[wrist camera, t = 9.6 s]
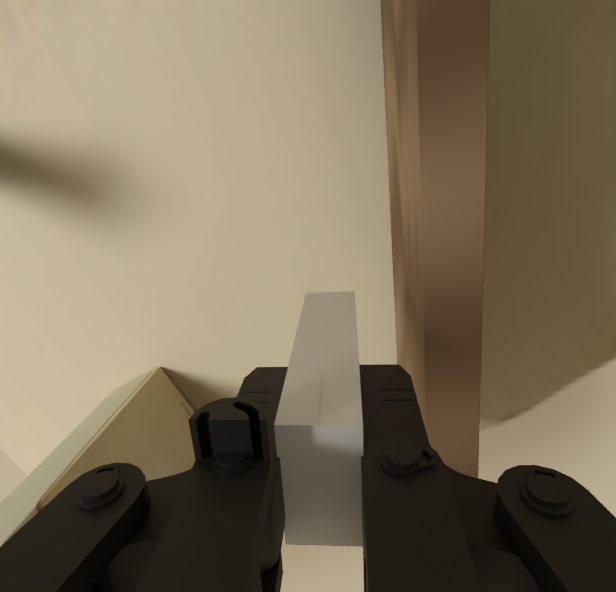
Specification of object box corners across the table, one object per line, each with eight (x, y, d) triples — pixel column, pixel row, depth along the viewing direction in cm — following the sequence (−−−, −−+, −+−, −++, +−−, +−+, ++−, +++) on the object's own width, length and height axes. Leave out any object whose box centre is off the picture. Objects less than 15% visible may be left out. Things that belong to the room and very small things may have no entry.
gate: (362, -81, 17) (399, -635, 5) (425, -93, 17) (630, -712, 5) (389, 406, 24) (431, 672, 12) (433, 404, 24) (520, 675, 12)
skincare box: (220, 441, 27) (124, 667, 15) (164, 468, 28) (36, 697, 16) (158, 361, 25) (0, 546, 14) (102, 393, 26) (-88, 588, 15)
